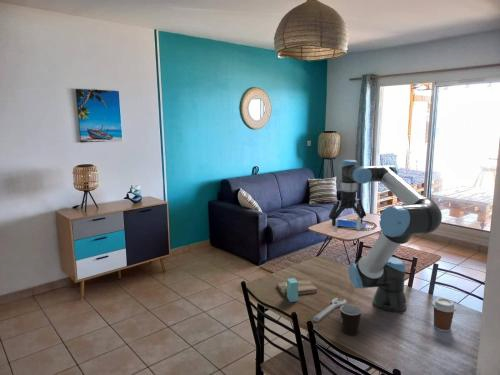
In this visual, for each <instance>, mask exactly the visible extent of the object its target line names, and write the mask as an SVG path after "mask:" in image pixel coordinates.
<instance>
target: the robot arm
mask: <svg viewBox="0 0 500 375" xmlns="http://www.w3.org/2000/svg"><path fill="white" fill-rule="evenodd" d="M340 181H341V182H340V187H341V188H340V200H337V199H335V200H334V204H333V207H332V209H331V211H330V213H329V215H328V218H329V219H330V220H331V225H332V226H333V227H332V228H333V229H332V231H333V232H334V233H338V219H337V218H339V216H340V215H341V214H342V212H343V211H344V210H348V209H351V210H353V211H354V212H355V214H356V215H357V217H356V230H358V231H361V229H362V224H363V219H364V218H365V217H366V216H367V214H366V211H365V208H364V206H363V203H362V199H360V198H356V197H357V183H358V184H367V183H372V182H373V183H374V182H375V183H376V182H378V183H379V182H380V183H381V184H382V185H383V186H384V187H385V188H386V189H388V190H389V191H390V192H391V193H392V194H393V195H394V196H395V197H396V198H397V199H398V200H399V201H400V202H402V205H400V204H394V205H390V206H387V207H386V208H383V210H382V212H381V214H380V215H379V216H380V217H379V219H380V220H379V227H380V230H381V232H380V234H379V236H378V237H377V238H376V240H375V242H374V244H372V246H371V248H370V249H369V251H368V252H367V254H366V255H364V256H361V257H360V258H359V260H358V261H357V262H353V263H350V264H349V266H348V276H349V279H350V282H351V283H350V284H352V286H353V287H354V288H355V289H357V290H358V289H368V288H370V289H371V288H376V290H375V293H374V295H373V300H372V303H373V305H374V306H375V307H376V308H379V309H381V310H383V311H386V312H390V313H400V312H403V311H405V310H406V309H407V304H408V302H407V298H406V294H405V292H404V289H405V277H406V263H405V262H404V261H403V260H401V259H400V258H398V257H393V255H394V254H395V253H396V251H397V250H398V248H399V247H401V245H403V244H406V243H408V242H409V241H410V239H411V238H412V237H413V236H414V235H415V236H416V235H428V234H431V233H433V232H435V231H436V230H437V229H438V228H439V227H440V226H441V223H442V219H443V216H442V211H441V208H440V207H439V206H438V204H437V203H435V201H434V200H433V199H431V198H429V197H425V196H423V194H421V193H420V192H419V191H417V189H415V188H414V187H413V186H412V185H411V184H409V183H408V182H407V181H405V179H403V178H402V177H401V176H400V175H398V170H397V167H395V166H394V165H388V164H387V165H371V166H370V165H367V166H366V165H365V166H362V165H361V166H360V165H359V164H358V161H357V160H356V159H344V160H342V162H341V180H340ZM356 205H357V206H356Z"/></svg>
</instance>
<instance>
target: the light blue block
mask: <svg viewBox="0 0 500 375" xmlns="http://www.w3.org/2000/svg"><path fill="white" fill-rule="evenodd" d="M297 280H298V279H296V278H295V277H293V278H287V279H286V282H287V284H285V287H286V288H287V296H286V298H287V299H288V302H290V303H295V302H298V301H299V295H298V281H297Z"/></svg>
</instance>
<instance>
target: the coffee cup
mask: <svg viewBox="0 0 500 375" xmlns="http://www.w3.org/2000/svg"><path fill="white" fill-rule="evenodd" d="M431 304H432V307H433V327H434V328H435V329H436V330H438V331H440V332H450V331H451V327H452V323H453V318H454V312H456V311H457V306H456V305H455V303H454V301H452V300H451V299H449V298H445V297H437V298H435V299H434V300H433V301H432V303H431Z"/></svg>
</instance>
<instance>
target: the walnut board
mask: <svg viewBox="0 0 500 375" xmlns="http://www.w3.org/2000/svg"><path fill="white" fill-rule="evenodd" d="M296 280H297V281H298V296H299V295H306V294H307V295H308V294H315V293H318V288H317V287H316V286H315V285H314V284H313V283H312V282H311V280H310V279H308V278H307V279H300V280H299V279H296ZM285 284H287V281H282V282H277V283H276V287H277V288H278V290H279V291H280V292H281V294H282V296H283V297H287V288H286V287H285Z"/></svg>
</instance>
